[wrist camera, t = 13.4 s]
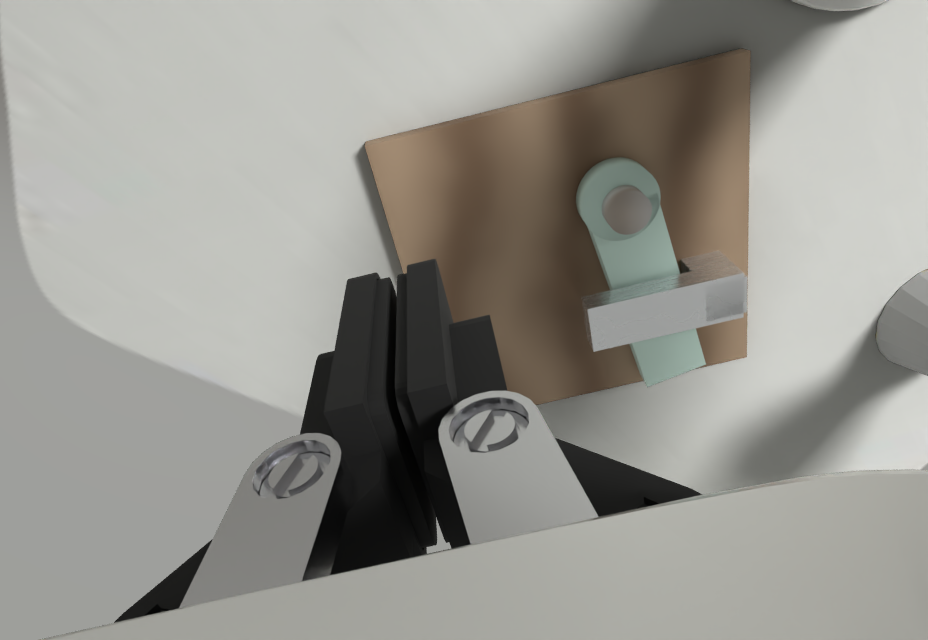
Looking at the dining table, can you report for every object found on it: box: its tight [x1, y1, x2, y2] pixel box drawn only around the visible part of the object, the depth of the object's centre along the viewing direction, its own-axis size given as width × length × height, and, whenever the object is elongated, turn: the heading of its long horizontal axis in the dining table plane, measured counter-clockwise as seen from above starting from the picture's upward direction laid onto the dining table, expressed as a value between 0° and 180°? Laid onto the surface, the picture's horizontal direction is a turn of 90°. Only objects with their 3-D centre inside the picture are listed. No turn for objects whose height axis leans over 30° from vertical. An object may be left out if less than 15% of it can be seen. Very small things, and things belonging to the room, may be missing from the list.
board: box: [365, 48, 751, 405], centre depth 37 cm, size 21×20×4 cm
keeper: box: [581, 250, 747, 352], centre depth 38 cm, size 9×3×4 cm, turn 103°
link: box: [576, 157, 706, 387], centre depth 38 cm, size 15×4×2 cm, turn 24°
